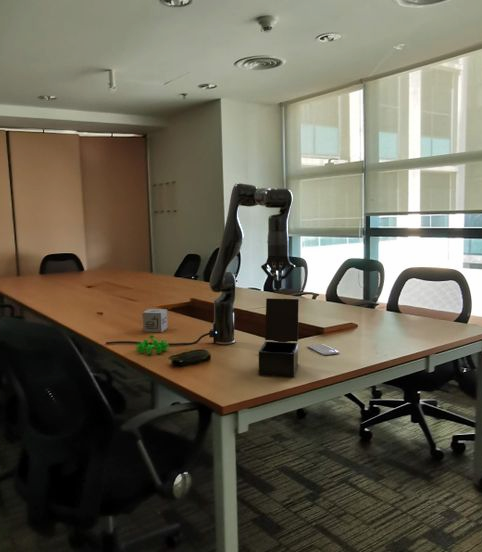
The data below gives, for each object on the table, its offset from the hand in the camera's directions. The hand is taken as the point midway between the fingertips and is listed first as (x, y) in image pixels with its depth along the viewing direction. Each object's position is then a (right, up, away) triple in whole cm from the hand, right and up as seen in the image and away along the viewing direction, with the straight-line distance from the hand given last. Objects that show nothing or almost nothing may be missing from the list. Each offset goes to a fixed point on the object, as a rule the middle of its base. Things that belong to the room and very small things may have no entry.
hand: (278, 289), depth 182 cm
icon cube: (-54, -23, +76) cm, 96 cm away
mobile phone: (+24, -27, +30) cm, 47 cm away
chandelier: (-51, -28, +35) cm, 68 cm away
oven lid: (+3, -12, +12) cm, 17 cm away
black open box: (+1, -31, +5) cm, 31 cm away
